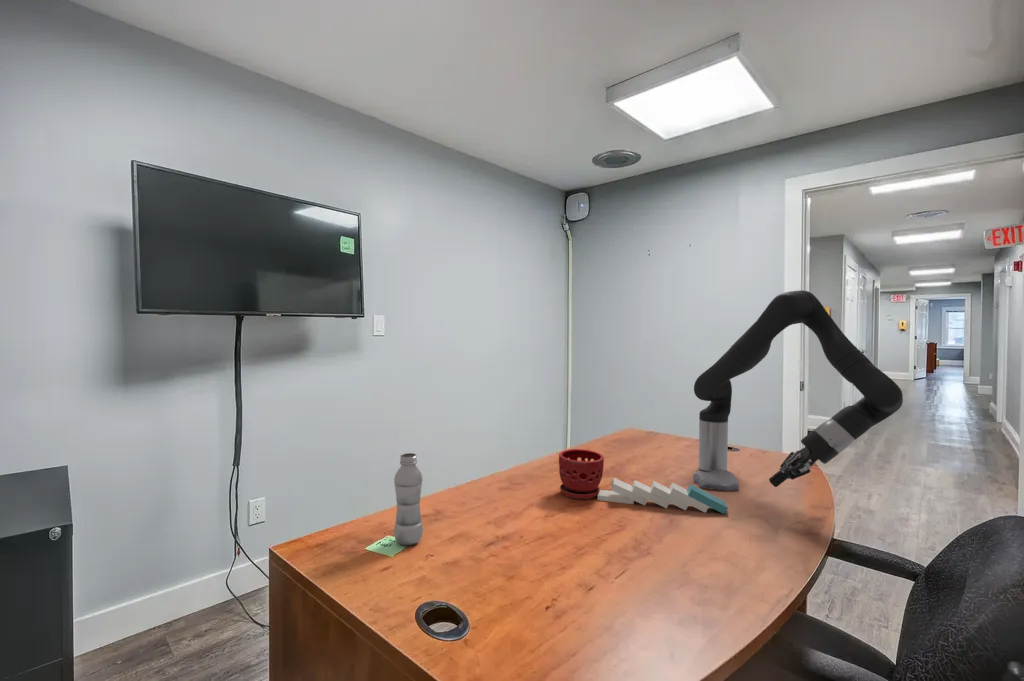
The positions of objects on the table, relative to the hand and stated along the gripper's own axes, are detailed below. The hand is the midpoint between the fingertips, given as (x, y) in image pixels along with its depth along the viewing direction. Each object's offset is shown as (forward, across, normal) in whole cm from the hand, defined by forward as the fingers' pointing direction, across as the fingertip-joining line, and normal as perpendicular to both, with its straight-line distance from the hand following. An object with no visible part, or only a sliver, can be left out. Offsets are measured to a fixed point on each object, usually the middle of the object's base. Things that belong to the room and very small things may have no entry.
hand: (771, 483), depth 126 cm
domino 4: (+20, 0, -9) cm, 22 cm away
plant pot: (+42, 0, -29) cm, 51 cm away
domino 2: (+28, 0, -17) cm, 32 cm away
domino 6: (+13, 0, -2) cm, 14 cm away
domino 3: (+24, 0, -13) cm, 27 cm away
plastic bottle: (+64, +45, -51) cm, 93 cm away
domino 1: (+31, 0, -18) cm, 36 cm away
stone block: (+15, -23, -2) cm, 27 cm away
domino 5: (+17, 0, -6) cm, 18 cm away
